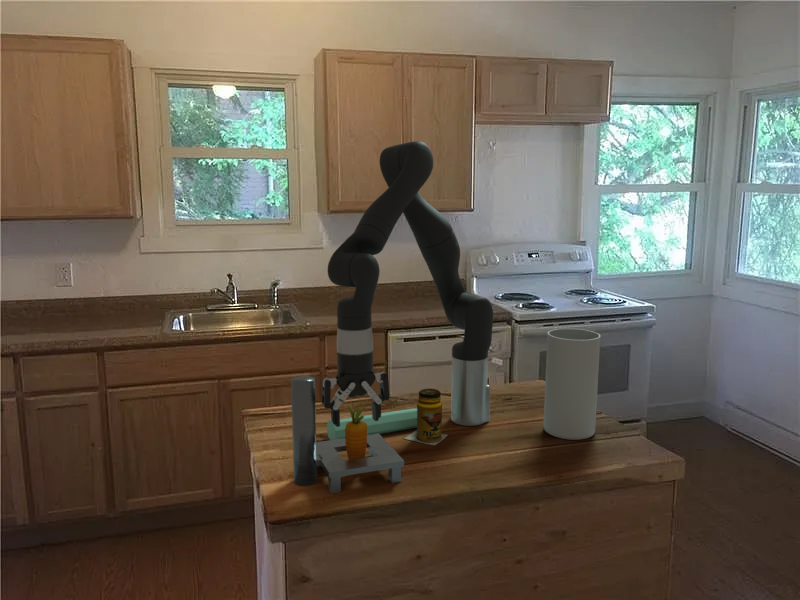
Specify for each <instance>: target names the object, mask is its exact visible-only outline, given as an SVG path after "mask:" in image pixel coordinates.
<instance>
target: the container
mask: <svg viewBox="0 0 800 600" xmlns="http://www.w3.org/2000/svg"><path fill="white" fill-rule="evenodd" d="M363 416H364V418H363V419H362V420H360V421H363V422H365V423H366V424H367V435H371V434H380V435H382V434H389V433H394V432H399V431H405V430H411V429H415V428H416V429H417V407H416V408H408V409H401V410H396V411H395V410H394V411H389V412H381V417H380V418H379V420H378V421H374V420H373V418H372V414H368V415H363ZM350 421H352V417H348V418H346V417H345V418H340V426H339V427H336V426H335V424H333V423H332V421H331V418H329V419H328V421H327V422H326V423H327V424H326V433H327V436H328V441H329V440H336V439H343V438H345V427H346V424H347V423H348V422H350Z"/></svg>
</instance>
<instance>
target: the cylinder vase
mask: <svg viewBox="0 0 800 600" xmlns="http://www.w3.org/2000/svg"><path fill="white" fill-rule="evenodd" d="M600 352H601V334H600V333H598V332H595V331H592V330H587V329H581V328H556V329H551V330H548V331H547V339H546V362H545V364H546V365H545V385H544V386H545V387H544V388H545V389H544V411H543V430H544V431H545V432H546V433H547V434H549V435H551V436H553V437H555V438H558V439H563V440H569V441H570V440H571V441H572V440H573V441H579V440H587V439H589V438H591V437H593V436H594V435H595V432H596V423H597V422H596V420H597V419H596V418H597V403H598V401H597V400H598V390H599V389H598V387H599V386H598V385H599V370H600V369H599V368H600V367H599V366H600V354H601V353H600Z"/></svg>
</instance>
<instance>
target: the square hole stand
mask: <svg viewBox="0 0 800 600" xmlns="http://www.w3.org/2000/svg"><path fill="white" fill-rule="evenodd" d="M290 390H291V392H290V393H291V394H290V395H291V396H290V397H291V421H292V422H291V423H292V458H293V460H292V462H293V483H294V484H295V485H297V486H298V487H299V486H300V487H308V486H312V485H314V484H316V483H317V481H318V468H322V469H323V471H324V473H325V474H326V476H327V477H328V478H327V480H328V481H327V482H328V491H329V492H330V494H332V495H333V494H336V493H341V491H342V487H341V486H342V485H341V482H342V481H341V479H342V478H341V477H343V476H344V477H346V476H353V475H357V474H363V473H369V472H375V471H382V470H388V480H389V482H390V483H391V484H395V483H401V482H402V467H405V460H404V459H403V458H402V457H401V456H400V454H398V452H397V451H396V450H395V449H394V448H393V447H392V446H391V445H390V444H389V443H388V442H387V440H386V439H385V438H384V437H383V436H382V434H371V435H367V446H366V449H367V450H368V452H369V453H368V456H369V457H365V458H361V459H354V460H349V459H348V460H343V458H342V457H341V456H340V454H339V453H341V452H347V450H346V441H345V438H343V439H336V440H329V439H328V440H324V441H323V440H322V441H317V422H316V419H317V417H316V415H317V414H316V413H317V411H316V378H315V377H313V376H310V375H298V376H294V377H292V378H291V380H290Z"/></svg>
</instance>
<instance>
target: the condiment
mask: <svg viewBox="0 0 800 600" xmlns="http://www.w3.org/2000/svg"><path fill="white" fill-rule="evenodd" d="M441 398H442V397H441V391H440V390H439V389H436V388H423V389H420V390H419V391H418V401H417V403H416V408H417V428H416V429H415V431H412V432H411V434H408V435H407V436H406V437H404V438H403V439H405V440H409V441H414V442H417V443H422V444H426V445H431V446H437V445H438V444H439V443H440V442H442V441H443V440H444V439H446V438H447V436H448V435H449V434H445V433H443V431H442V429H443V414H442V413H443V403H442V401H441V400H442V399H441Z"/></svg>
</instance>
